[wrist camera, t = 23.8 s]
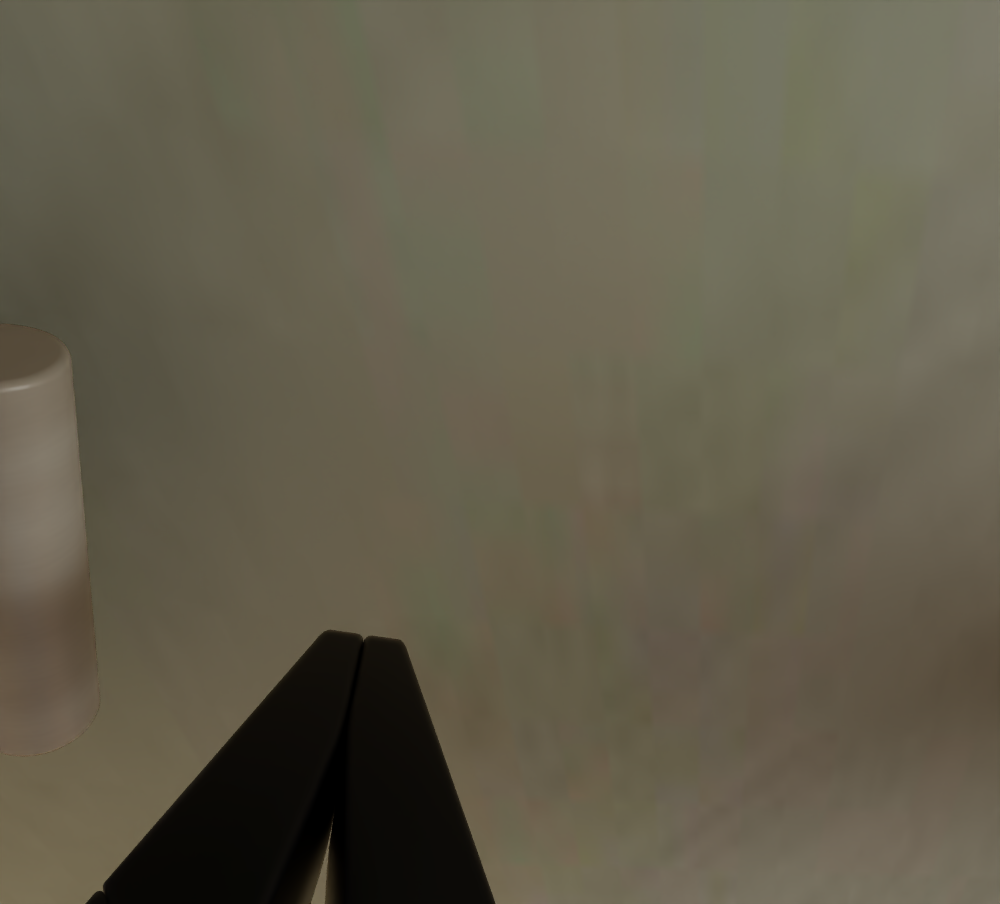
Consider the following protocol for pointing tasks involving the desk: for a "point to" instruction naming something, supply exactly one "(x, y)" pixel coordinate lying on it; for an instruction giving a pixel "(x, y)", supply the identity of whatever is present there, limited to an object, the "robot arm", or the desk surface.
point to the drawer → (42, 552)
